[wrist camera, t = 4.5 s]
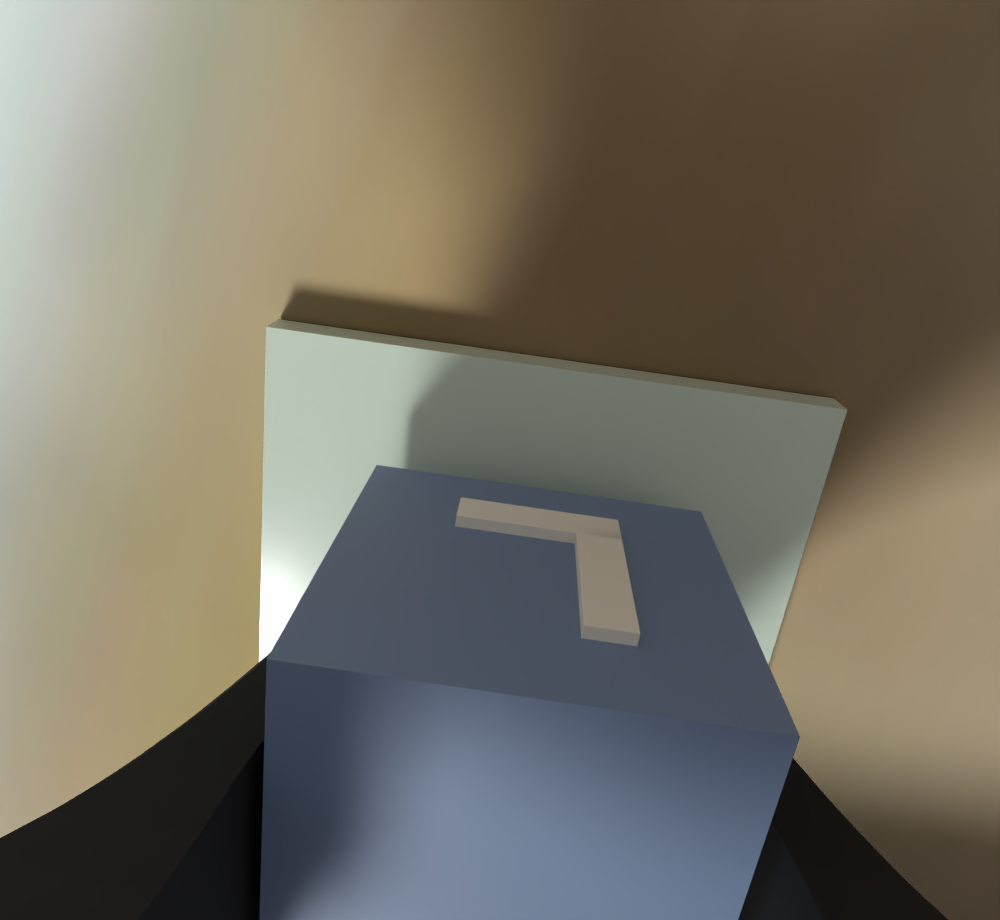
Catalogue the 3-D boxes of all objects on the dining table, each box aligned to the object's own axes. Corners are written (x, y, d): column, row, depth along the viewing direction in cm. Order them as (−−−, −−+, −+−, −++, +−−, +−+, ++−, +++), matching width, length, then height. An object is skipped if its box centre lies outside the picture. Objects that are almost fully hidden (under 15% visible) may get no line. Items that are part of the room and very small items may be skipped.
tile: (706, 821, 16) (712, 845, 15) (266, 757, 16) (256, 779, 15) (834, 398, 12) (847, 409, 12) (278, 319, 13) (266, 326, 12)
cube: (637, 767, 14) (683, 1080, 9) (355, 726, 14) (257, 1018, 9) (703, 502, 12) (804, 723, 7) (376, 455, 12) (267, 644, 7)
